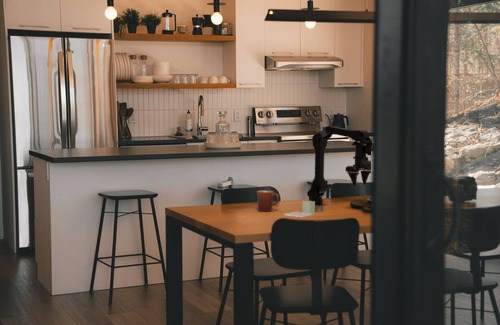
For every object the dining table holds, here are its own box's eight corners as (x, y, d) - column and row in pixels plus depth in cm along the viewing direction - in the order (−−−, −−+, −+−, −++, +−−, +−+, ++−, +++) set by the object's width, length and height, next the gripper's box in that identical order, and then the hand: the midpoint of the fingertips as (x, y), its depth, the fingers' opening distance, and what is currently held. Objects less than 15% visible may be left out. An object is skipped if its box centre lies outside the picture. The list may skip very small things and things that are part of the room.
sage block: (302, 213, 359) (302, 201, 358) (307, 212, 362) (307, 200, 362) (309, 214, 356) (310, 202, 356) (314, 213, 360) (314, 201, 359)
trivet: (284, 215, 350) (284, 213, 350) (295, 213, 358) (295, 211, 358) (301, 217, 345) (301, 215, 344) (312, 215, 353) (312, 213, 352)
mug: (253, 211, 362) (253, 191, 361) (260, 209, 370) (260, 190, 369) (275, 213, 357) (275, 193, 356) (281, 211, 365) (282, 191, 364)
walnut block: (310, 212, 365) (311, 206, 365) (314, 210, 369) (314, 205, 369) (320, 212, 363) (320, 206, 362) (323, 211, 367) (323, 205, 367)
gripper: (364, 156, 348) (363, 187, 350) (383, 155, 362) (382, 185, 364) (345, 155, 356) (344, 185, 357) (365, 153, 370) (364, 183, 371)
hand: (359, 185), depth 362 cm, fingers open, 9 cm apart
